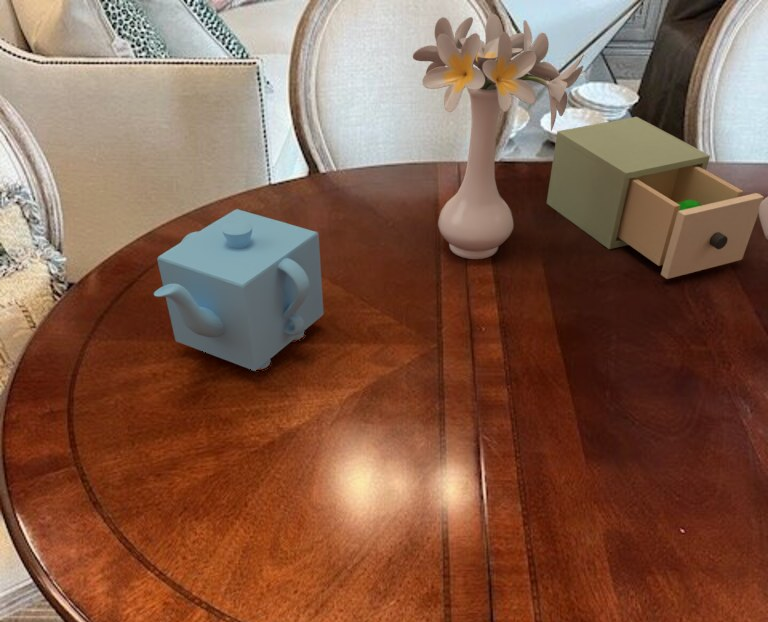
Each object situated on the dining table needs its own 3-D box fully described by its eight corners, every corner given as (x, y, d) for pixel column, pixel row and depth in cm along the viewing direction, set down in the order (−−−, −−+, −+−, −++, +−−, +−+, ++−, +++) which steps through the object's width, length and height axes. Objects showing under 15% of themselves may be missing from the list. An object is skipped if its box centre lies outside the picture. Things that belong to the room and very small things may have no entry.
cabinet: (688, 230, 103) (710, 155, 96) (609, 249, 99) (625, 173, 92) (621, 187, 112) (636, 116, 105) (546, 203, 108) (557, 131, 101)
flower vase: (548, 281, 93) (587, 45, 76) (397, 263, 96) (400, 33, 78) (556, 231, 102) (592, 10, 84) (417, 217, 105) (424, 0, 87)
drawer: (749, 264, 94) (772, 200, 89) (673, 284, 91) (692, 219, 86) (670, 214, 104) (686, 154, 98) (599, 231, 101) (611, 169, 95)
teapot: (231, 295, 91) (214, 185, 82) (344, 334, 85) (339, 220, 76) (121, 374, 80) (87, 257, 71) (241, 423, 75) (221, 303, 65)
